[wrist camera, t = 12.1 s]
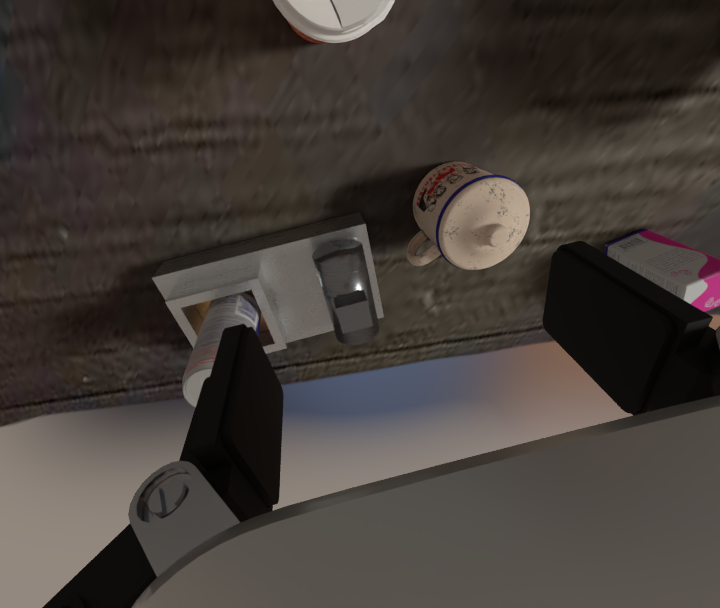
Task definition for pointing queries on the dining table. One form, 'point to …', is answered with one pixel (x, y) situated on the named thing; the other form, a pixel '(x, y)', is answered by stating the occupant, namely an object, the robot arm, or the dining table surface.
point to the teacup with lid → (468, 216)
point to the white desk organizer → (284, 283)
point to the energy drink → (217, 338)
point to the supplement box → (670, 266)
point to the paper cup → (333, 18)
